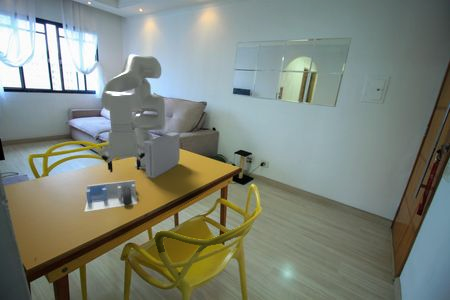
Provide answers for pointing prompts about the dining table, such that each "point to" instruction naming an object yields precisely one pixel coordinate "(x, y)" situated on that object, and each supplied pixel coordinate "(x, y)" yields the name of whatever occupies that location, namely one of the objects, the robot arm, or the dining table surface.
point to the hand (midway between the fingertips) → (125, 169)
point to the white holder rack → (108, 195)
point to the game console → (162, 154)
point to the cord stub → (127, 196)
